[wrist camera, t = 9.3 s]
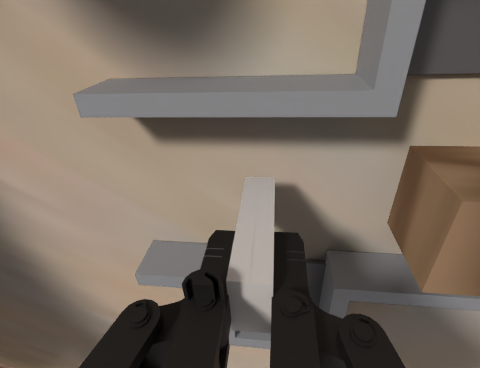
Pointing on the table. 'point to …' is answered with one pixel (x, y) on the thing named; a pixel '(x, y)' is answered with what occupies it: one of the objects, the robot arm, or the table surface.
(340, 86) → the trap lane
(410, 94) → the table surface
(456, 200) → the walnut block
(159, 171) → the table surface
